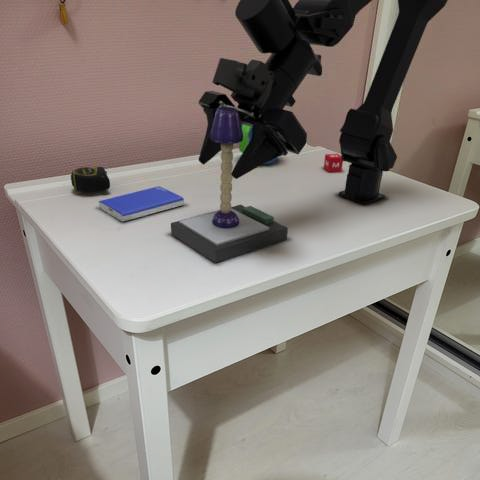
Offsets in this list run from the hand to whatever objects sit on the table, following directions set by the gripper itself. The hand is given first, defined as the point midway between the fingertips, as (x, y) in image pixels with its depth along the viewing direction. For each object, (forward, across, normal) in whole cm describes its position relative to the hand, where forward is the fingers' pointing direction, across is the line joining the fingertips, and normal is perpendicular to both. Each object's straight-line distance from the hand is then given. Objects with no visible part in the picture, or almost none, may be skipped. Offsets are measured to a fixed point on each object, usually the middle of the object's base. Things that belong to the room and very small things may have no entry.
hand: (216, 169), depth 70 cm
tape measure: (+12, -32, +4) cm, 34 cm away
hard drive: (+10, -19, +6) cm, 22 cm away
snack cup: (-16, -29, +32) cm, 46 cm away
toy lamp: (+5, 0, +7) cm, 9 cm away
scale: (+6, 0, +10) cm, 11 cm away
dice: (-22, -15, +38) cm, 46 cm away
